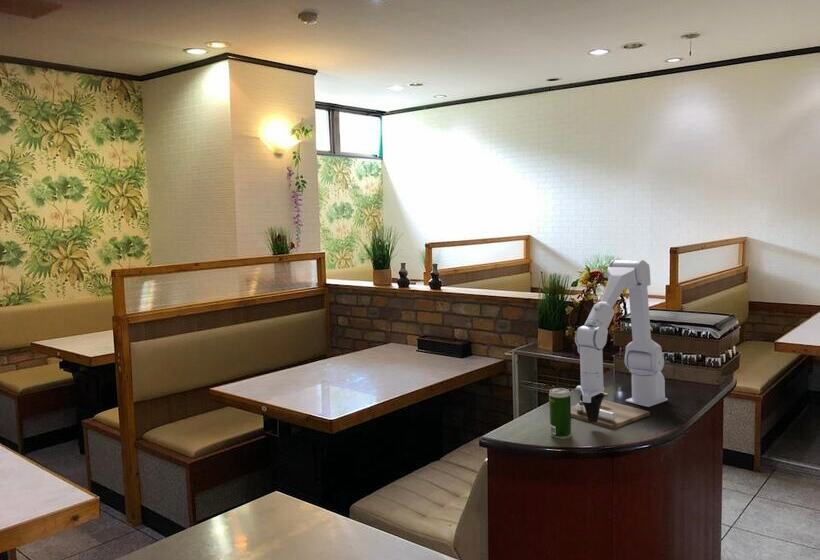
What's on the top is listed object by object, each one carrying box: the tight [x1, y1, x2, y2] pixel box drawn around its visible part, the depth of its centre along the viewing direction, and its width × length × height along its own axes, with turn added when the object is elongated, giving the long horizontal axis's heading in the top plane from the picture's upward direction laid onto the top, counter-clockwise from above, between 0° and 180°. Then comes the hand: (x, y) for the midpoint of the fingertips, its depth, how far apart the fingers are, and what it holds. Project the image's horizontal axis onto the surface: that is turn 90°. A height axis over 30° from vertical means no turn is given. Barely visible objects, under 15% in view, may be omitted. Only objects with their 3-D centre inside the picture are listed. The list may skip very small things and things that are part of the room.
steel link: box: [575, 400, 615, 421], centre depth 179 cm, size 12×3×3 cm, turn 35°
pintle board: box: [571, 392, 651, 430], centre depth 184 cm, size 16×18×4 cm
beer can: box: [548, 387, 572, 440], centre depth 169 cm, size 5×5×12 cm
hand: (593, 421), depth 173 cm, fingers closed
